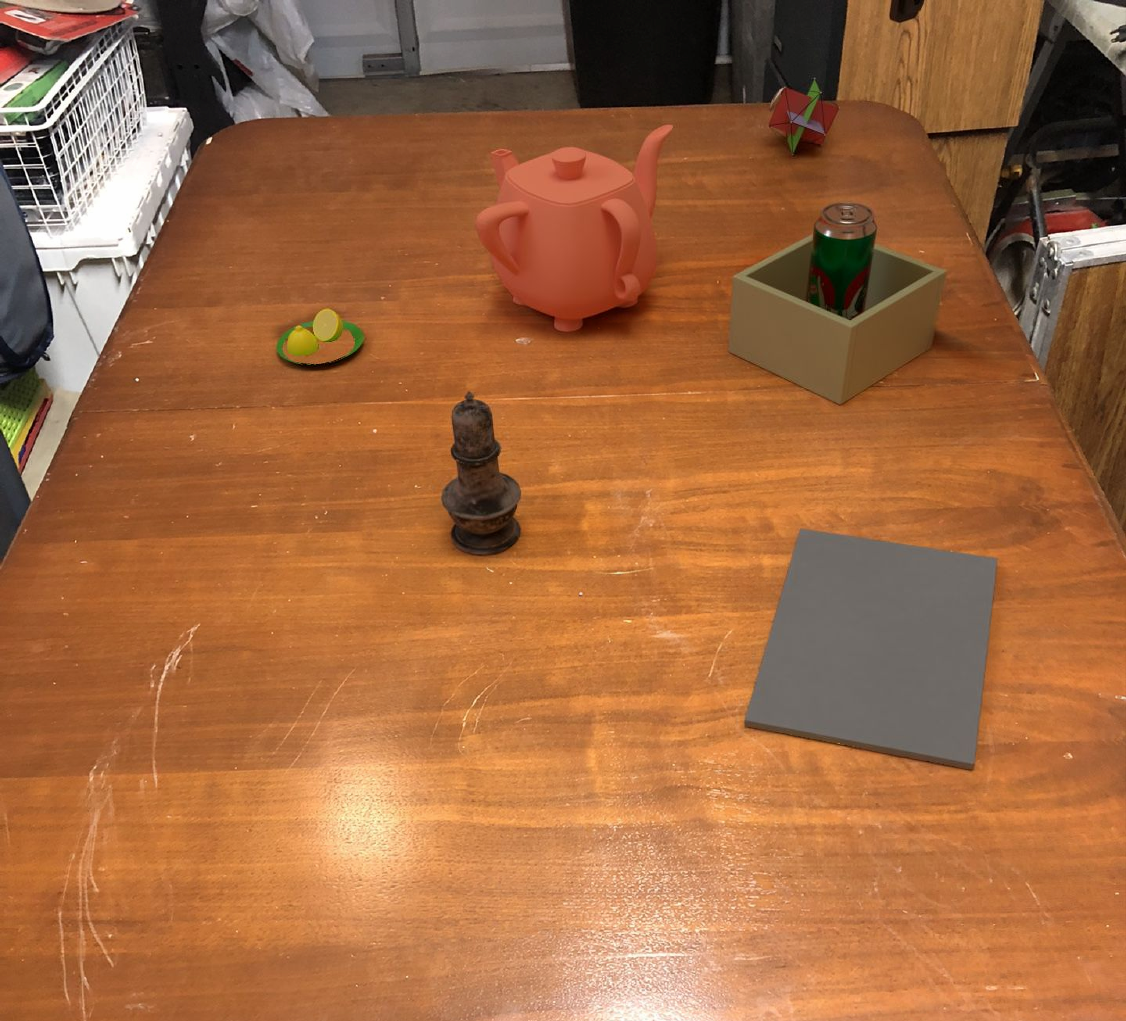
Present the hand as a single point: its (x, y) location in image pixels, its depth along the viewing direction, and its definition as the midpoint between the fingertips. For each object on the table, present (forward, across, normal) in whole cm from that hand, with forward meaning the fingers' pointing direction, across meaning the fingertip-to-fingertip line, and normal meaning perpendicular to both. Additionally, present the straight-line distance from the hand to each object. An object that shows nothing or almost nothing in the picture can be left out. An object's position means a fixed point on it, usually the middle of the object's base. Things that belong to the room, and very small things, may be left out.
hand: (860, 5), depth 85 cm
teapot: (+26, +21, +12) cm, 36 cm away
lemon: (+26, +27, +36) cm, 52 cm away
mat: (+26, -32, +23) cm, 47 cm away
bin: (+26, -2, +1) cm, 26 cm away
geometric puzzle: (+26, +33, -26) cm, 50 cm away
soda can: (+26, -2, +1) cm, 26 cm away
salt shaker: (+26, -6, +38) cm, 47 cm away
